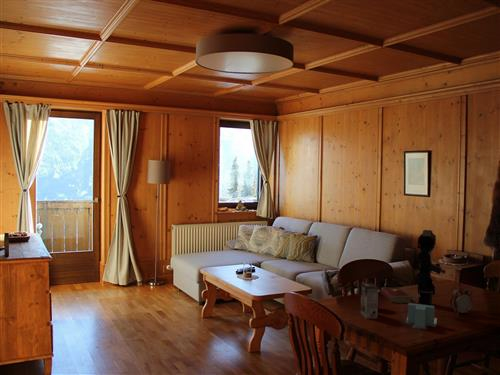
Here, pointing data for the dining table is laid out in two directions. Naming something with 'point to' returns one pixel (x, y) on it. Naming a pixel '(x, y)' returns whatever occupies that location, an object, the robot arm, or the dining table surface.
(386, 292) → the hardcover book
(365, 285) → the coffee box
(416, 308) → the T block
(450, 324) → the dining table surface
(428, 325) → the mat
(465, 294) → the alarm clock
